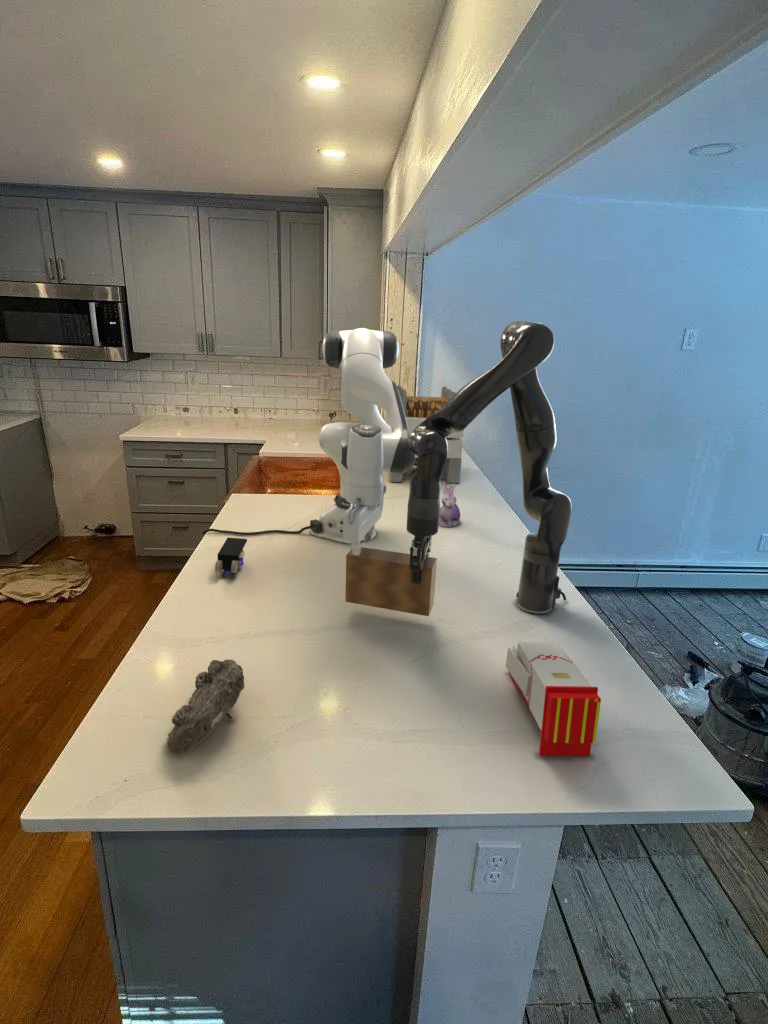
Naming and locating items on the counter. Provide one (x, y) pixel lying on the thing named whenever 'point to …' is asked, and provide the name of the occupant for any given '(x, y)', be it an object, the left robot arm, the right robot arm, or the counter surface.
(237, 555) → the figurine character
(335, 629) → the counter surface
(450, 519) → the figurine
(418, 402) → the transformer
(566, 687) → the toy
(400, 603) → the box
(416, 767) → the counter surface
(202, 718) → the fossil
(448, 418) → the right robot arm
